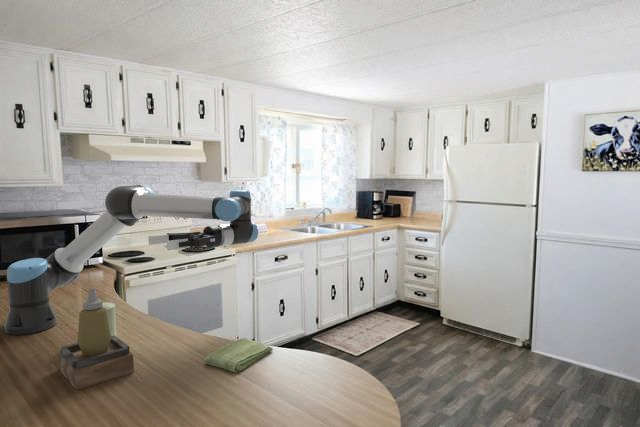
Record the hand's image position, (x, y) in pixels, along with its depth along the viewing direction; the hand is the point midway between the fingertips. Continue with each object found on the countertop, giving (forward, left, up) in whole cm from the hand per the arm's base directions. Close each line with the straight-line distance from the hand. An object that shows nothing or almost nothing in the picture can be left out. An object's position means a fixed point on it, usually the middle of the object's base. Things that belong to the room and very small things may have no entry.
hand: (157, 243), depth 133 cm
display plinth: (+7, -22, -32) cm, 39 cm away
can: (-14, -14, -32) cm, 38 cm away
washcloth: (+27, +11, -33) cm, 44 cm away
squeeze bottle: (+7, -22, -27) cm, 35 cm away
